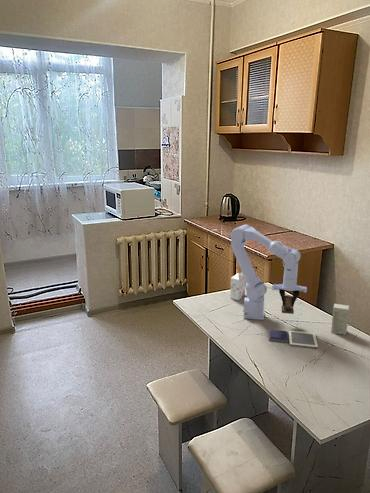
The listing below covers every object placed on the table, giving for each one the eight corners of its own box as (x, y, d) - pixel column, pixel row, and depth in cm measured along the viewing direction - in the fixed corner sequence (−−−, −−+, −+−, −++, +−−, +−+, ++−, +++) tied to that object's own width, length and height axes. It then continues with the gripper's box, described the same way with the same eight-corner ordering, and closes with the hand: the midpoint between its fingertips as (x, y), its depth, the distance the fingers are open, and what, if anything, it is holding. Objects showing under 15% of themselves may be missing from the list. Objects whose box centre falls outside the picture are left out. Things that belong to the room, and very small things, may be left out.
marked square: (289, 345, 152) (289, 343, 152) (288, 331, 163) (288, 330, 163) (317, 348, 150) (318, 346, 150) (314, 334, 161) (314, 333, 160)
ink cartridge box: (236, 292, 203) (237, 267, 198) (245, 294, 200) (246, 269, 196) (229, 298, 196) (230, 272, 191) (238, 300, 193) (239, 274, 189)
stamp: (281, 312, 165) (283, 298, 163) (281, 307, 170) (282, 293, 168) (293, 313, 164) (294, 299, 162) (292, 308, 169) (294, 294, 167)
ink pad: (268, 340, 156) (268, 337, 155) (268, 332, 163) (268, 328, 162) (288, 342, 154) (288, 339, 154) (287, 334, 161) (287, 330, 160)
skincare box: (346, 330, 163) (350, 305, 160) (346, 335, 159) (349, 309, 156) (331, 327, 166) (334, 302, 162) (330, 332, 162) (333, 307, 158)
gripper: (306, 274, 164) (303, 302, 168) (273, 272, 167) (271, 300, 171) (308, 280, 158) (305, 309, 162) (273, 278, 161) (271, 306, 165)
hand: (287, 305), depth 166 cm, fingers closed on stamp, 3 cm apart
